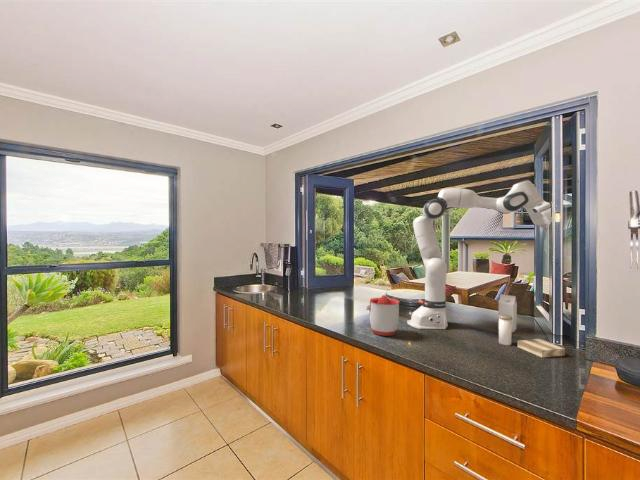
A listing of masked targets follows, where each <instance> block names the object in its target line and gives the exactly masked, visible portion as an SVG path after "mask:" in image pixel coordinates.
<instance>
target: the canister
mask: <svg viewBox="0 0 640 480" xmlns="http://www.w3.org/2000/svg"><path fill="white" fill-rule="evenodd" d="M498 318H499V329H498V344H499V345H503V346H511V345H512V333H513V332H512V316H508V315H499V316H498ZM498 318H497V319H498Z"/></svg>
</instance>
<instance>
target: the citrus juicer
mask: <svg viewBox="0 0 640 480" xmlns="http://www.w3.org/2000/svg"><path fill="white" fill-rule="evenodd" d="M365 310H366V311H368V310H369V323H370V328H371V331H372V333H374V334H375V335H377V336H378V335H379V336H383V337H385V336H387V337H388V336H389V337H390V336H393V335H395V334H396V332H397V330H398V326H399V318H400V312H399V311H400V300H398V299H395V298H390V297H388V296H387V295H385V294H384V295H382V296H380V297H373V298H370V301H369V305H367V306H366V308H365Z"/></svg>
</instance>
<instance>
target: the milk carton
mask: <svg viewBox="0 0 640 480" xmlns="http://www.w3.org/2000/svg"><path fill="white" fill-rule="evenodd" d="M517 303H518V302H517V297H516V296H515V295H509V294H501V293H500V297H499V300H498V311H497V312H498V316H499V315H508V316H512V333H514V332H516V330H517V321H518V320H517V317H518V315H517V312H518V309H517V307H518V304H517ZM497 319H498V321H497V330H499V318H497Z"/></svg>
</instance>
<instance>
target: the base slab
mask: <svg viewBox="0 0 640 480" xmlns="http://www.w3.org/2000/svg"><path fill="white" fill-rule="evenodd" d="M517 348H520V349H522V350H524V351H526V352H528V353H530V354H533V355H535V356H537V357H540V358H542V359H544V358H551V357H553V358H554V357H562V356H566V348H565V347H562V346H560V345H557V344H554V343H550V342H549V341H546V340H544V339H540V338H530V339H529V338H528V339H518V340H517Z"/></svg>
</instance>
